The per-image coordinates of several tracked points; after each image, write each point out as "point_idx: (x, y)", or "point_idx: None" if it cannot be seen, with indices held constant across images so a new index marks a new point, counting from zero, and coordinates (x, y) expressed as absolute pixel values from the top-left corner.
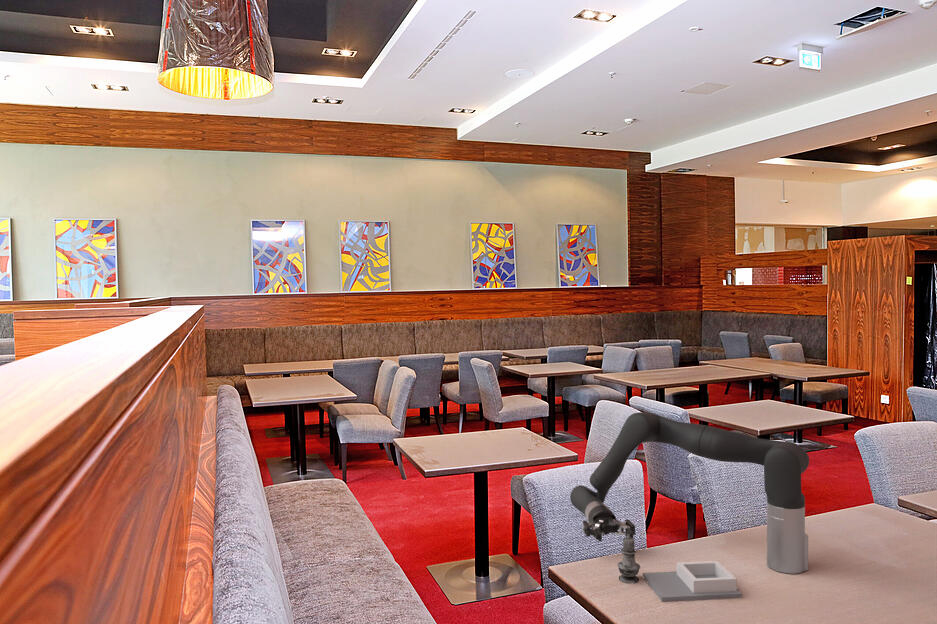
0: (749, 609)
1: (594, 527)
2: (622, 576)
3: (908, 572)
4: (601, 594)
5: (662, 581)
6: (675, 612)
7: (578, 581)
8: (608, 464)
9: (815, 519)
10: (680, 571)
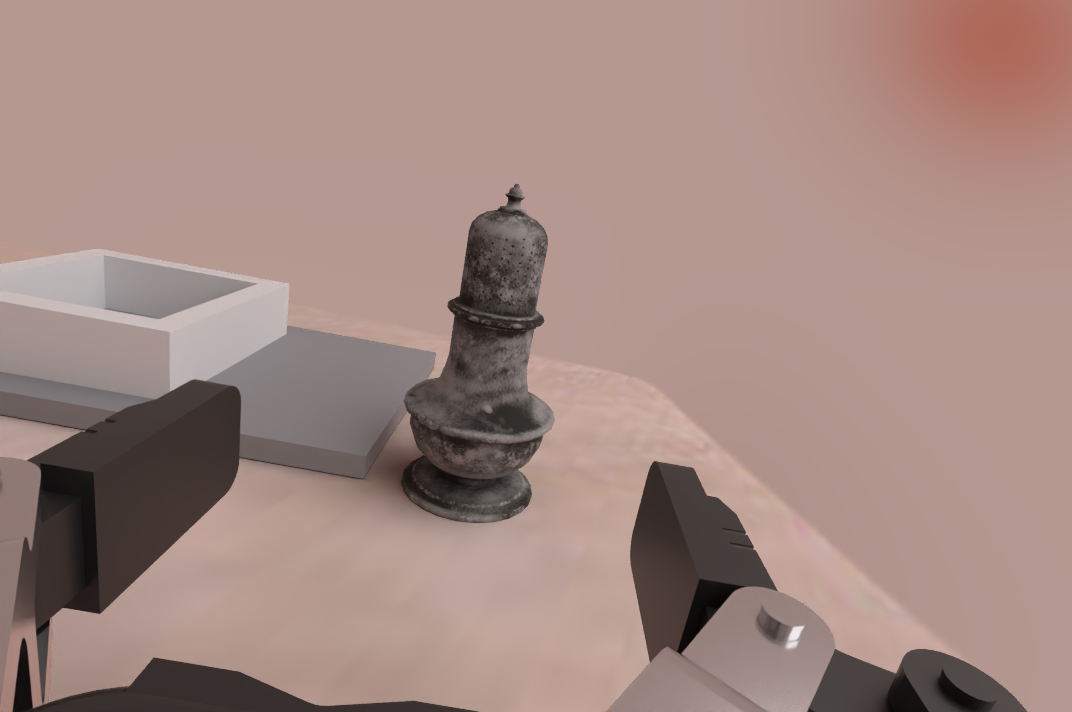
0: None
1: (793, 612)
2: (504, 488)
3: None
4: (659, 443)
5: (332, 391)
6: (432, 341)
7: (784, 541)
8: None
9: None
10: (205, 343)
